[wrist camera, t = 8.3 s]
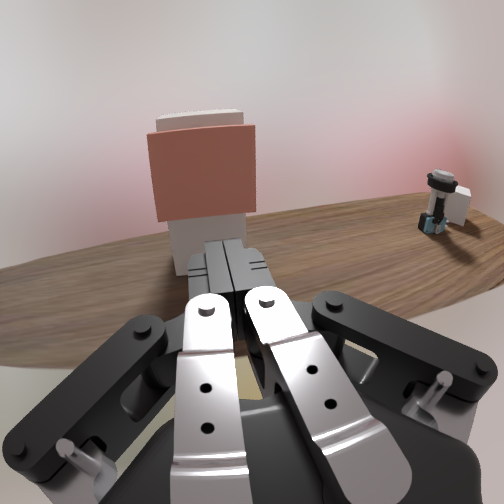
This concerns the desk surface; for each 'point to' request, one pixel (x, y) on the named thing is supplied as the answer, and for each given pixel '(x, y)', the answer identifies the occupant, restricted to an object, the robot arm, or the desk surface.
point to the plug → (203, 171)
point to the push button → (437, 201)
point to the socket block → (203, 228)
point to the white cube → (458, 205)
